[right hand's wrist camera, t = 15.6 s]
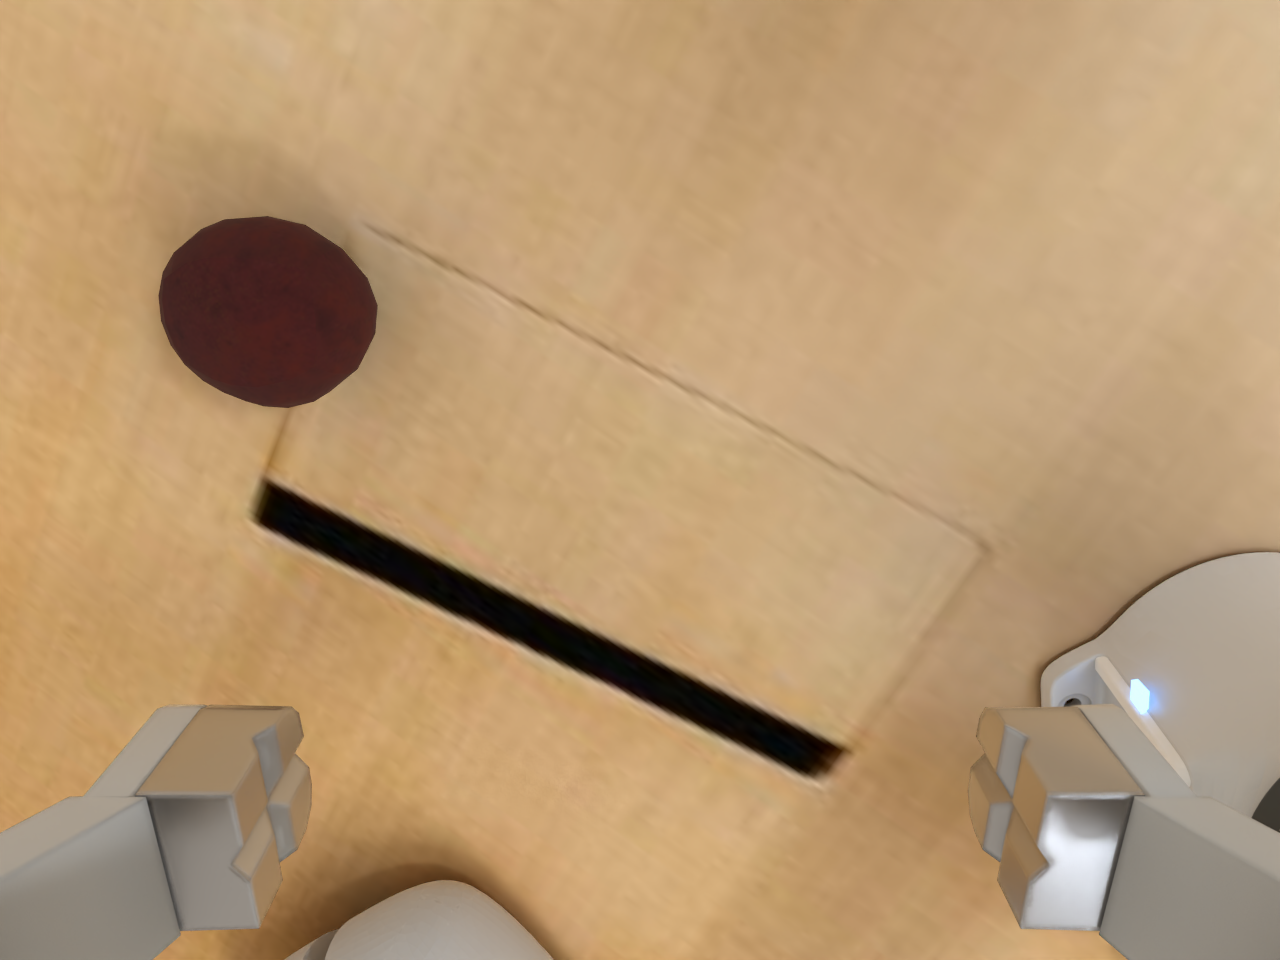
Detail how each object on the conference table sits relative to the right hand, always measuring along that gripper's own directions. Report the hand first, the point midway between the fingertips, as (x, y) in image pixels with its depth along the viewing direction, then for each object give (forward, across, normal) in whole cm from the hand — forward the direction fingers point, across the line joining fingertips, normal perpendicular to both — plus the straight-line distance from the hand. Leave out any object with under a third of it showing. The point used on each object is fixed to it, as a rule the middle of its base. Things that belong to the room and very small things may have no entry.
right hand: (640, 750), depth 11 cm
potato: (+30, +14, 0) cm, 33 cm away
